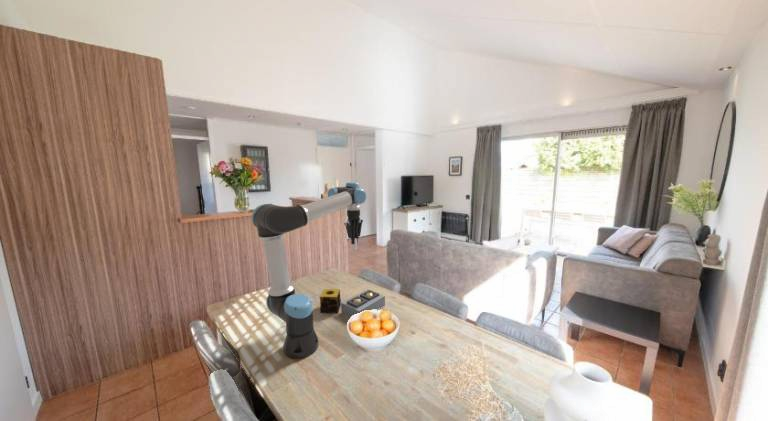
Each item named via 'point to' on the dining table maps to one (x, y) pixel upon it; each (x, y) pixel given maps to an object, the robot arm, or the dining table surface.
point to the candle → (330, 301)
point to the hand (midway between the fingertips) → (354, 249)
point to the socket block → (362, 303)
